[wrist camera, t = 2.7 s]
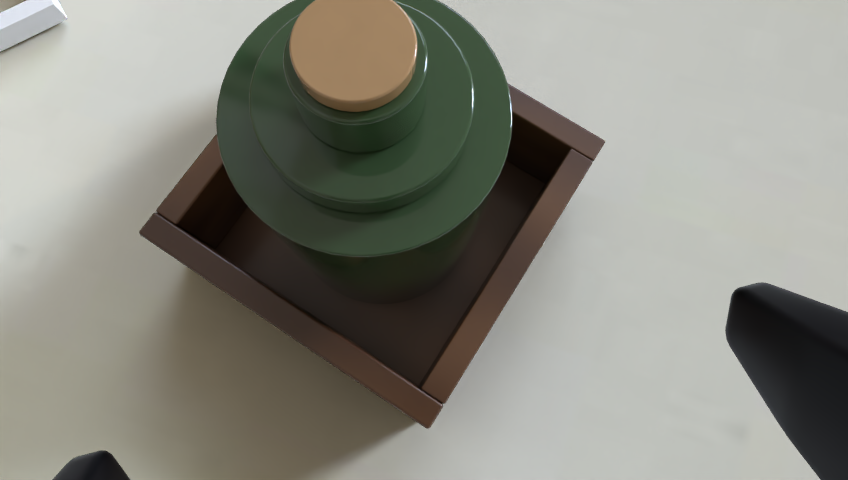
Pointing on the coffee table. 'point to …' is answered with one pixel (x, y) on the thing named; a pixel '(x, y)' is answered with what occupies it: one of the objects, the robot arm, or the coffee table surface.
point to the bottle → (367, 138)
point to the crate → (399, 322)
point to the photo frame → (28, 20)
